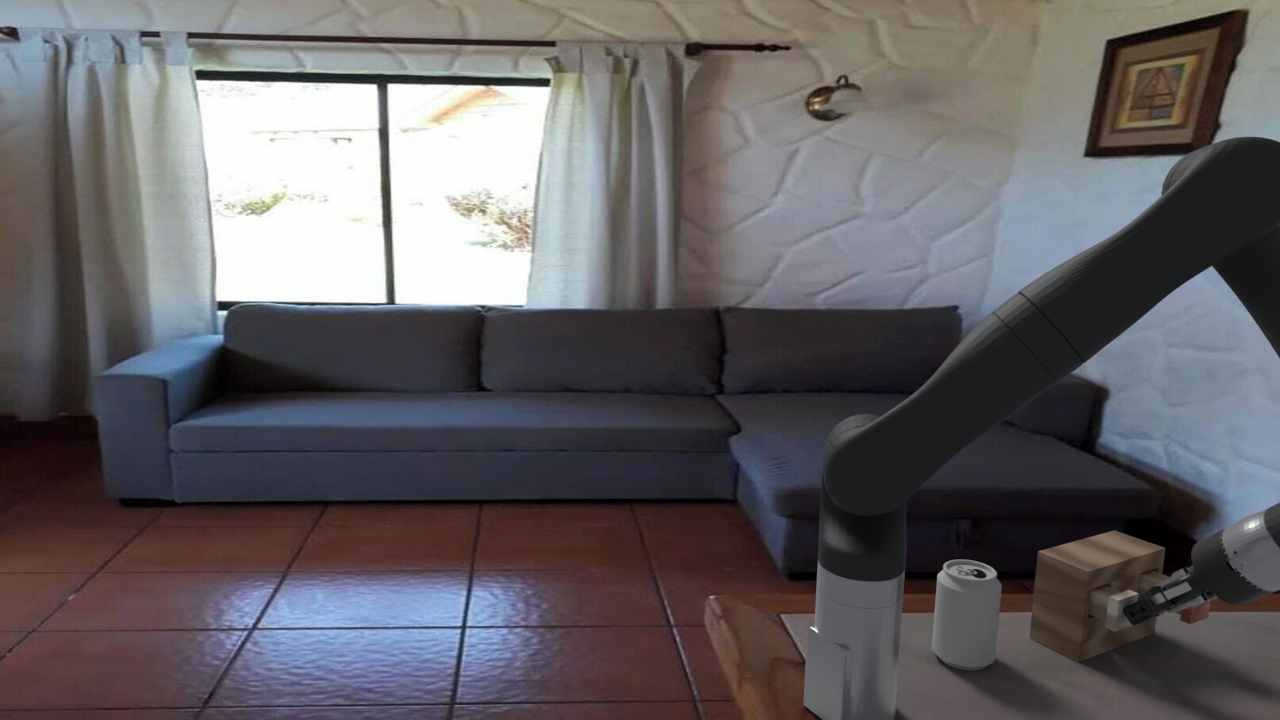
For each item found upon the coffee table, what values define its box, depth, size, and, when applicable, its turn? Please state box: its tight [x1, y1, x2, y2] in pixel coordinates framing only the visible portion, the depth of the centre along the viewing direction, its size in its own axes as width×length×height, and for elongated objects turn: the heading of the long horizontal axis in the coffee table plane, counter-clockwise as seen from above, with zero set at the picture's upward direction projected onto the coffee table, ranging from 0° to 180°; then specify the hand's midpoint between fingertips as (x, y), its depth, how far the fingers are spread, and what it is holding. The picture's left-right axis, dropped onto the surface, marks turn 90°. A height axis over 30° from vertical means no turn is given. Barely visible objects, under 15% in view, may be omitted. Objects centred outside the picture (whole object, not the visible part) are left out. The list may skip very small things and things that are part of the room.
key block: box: [1029, 530, 1166, 663], centre depth 113 cm, size 16×7×12 cm, turn 119°
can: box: [931, 559, 1002, 671], centre depth 107 cm, size 8×8×12 cm
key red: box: [1138, 570, 1212, 625], centre depth 111 cm, size 4×9×4 cm, turn 29°
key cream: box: [1089, 585, 1138, 631], centre depth 109 cm, size 4×9×4 cm, turn 29°
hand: (1130, 616), depth 104 cm, fingers closed
